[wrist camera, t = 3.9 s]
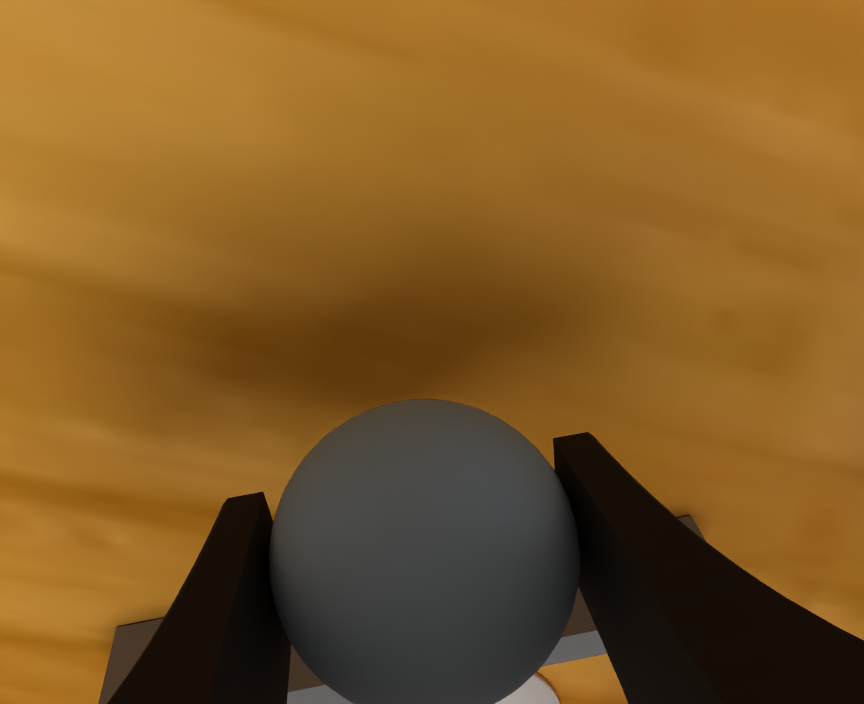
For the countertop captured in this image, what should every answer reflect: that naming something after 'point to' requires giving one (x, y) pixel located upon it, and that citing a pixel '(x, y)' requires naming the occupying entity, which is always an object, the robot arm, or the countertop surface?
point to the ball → (424, 557)
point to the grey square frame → (316, 700)
